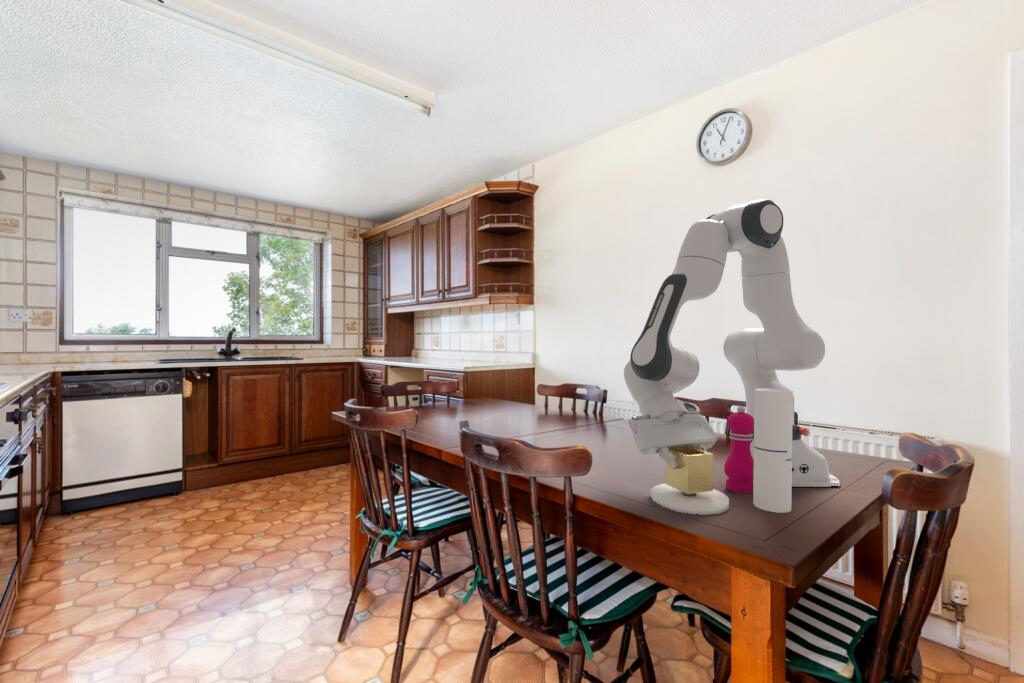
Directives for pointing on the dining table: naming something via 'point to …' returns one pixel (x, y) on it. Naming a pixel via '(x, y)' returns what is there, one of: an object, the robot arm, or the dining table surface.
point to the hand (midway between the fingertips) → (691, 466)
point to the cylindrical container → (773, 449)
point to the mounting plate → (690, 500)
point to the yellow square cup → (691, 470)
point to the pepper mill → (740, 453)
